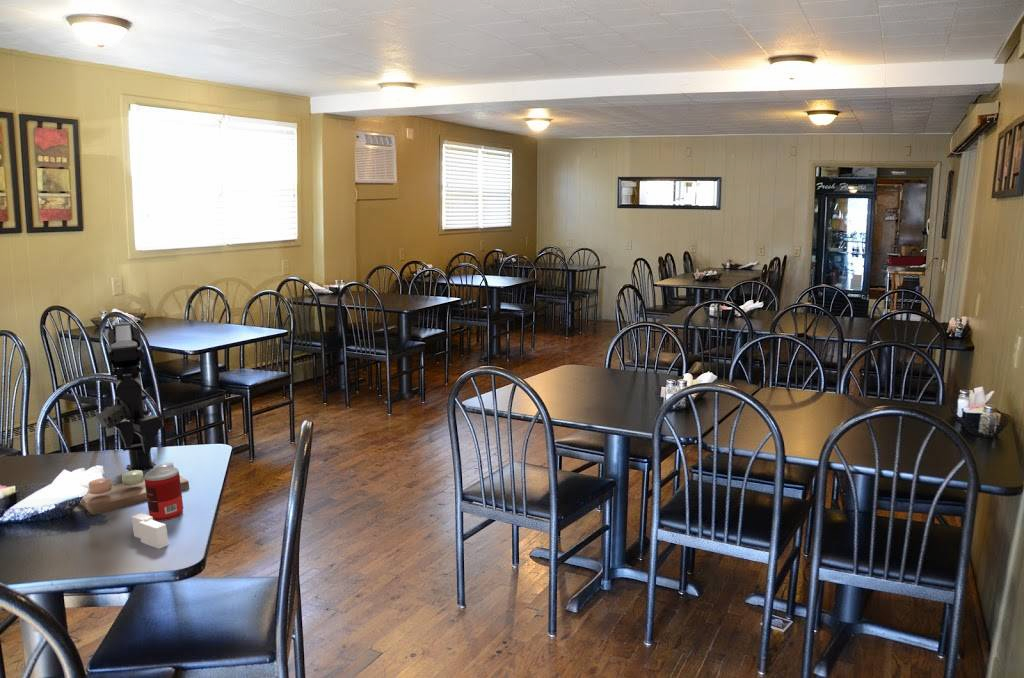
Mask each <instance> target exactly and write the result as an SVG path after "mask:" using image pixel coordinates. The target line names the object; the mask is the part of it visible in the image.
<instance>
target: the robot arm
mask: <svg viewBox="0 0 1024 678" xmlns="http://www.w3.org/2000/svg"><path fill="white" fill-rule="evenodd" d="M107 340H108V346H109V347H108V348H109V350H108V352H107V355H108V363H109V364H108V365H109V373H110V375H109V376H110V377H114V376H115V380H116V381H115V382H116V387H115V388H116V389H115V391H116V393H115V394H116V395H117V397H115V398H114V400H113V401H114V404H112V405H111V406H108V407H107V408H105V409H104V410H102V411H101V412H99V413H97V414H96V417H95V418H96V419H97V421H98V423H99V425H100V426H101V427H102V428H106V429H108V430H109V429H112V428H115V429H116V430H117V432H118V433H119V436H120V439H121V444H122V445H121V446H122V452H125V451H128V456H129V464H126V468H127V469H129V471H133V470H141V471H143V470H147V469H151V468H153V466H155V465H157V464H156V463H155V462H153V461H152V453H151V451H152V450H151V449H152V447H155V445H158V441H157V435H158V433H159V431H160V430H161V429H162V428H163V427H164V426H165V425H164V418H162V417H160V416H159V415H155V414H149V410H147V409H145V403H144V400H147V399H148V397H147V395H146V394H143V385H142V379H141V373H145V371H144V370H145V369H146V367H147V366H146V359H145V358H146V357H145V351H143V350H142V349H143V342H142V334H141V329H139V328H137V327H136V326H134V325H133V323H132V322H119V323H115V324H113V325H112V329H110V330H109V331H108V332H107ZM113 369H114V370H113Z"/></svg>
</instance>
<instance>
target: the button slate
mask: <svg viewBox="0 0 1024 678" xmlns="http://www.w3.org/2000/svg"><path fill="white" fill-rule="evenodd" d="M163 467H174V463H173V462H161V463H157V464H156V465H155V466H153V467H152V468H153V469H152V470H154V469H158V468H163Z"/></svg>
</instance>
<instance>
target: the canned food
mask: <svg viewBox="0 0 1024 678" xmlns="http://www.w3.org/2000/svg"><path fill="white" fill-rule="evenodd" d="M179 475H180V471H179V468H178V467H163V468H158V469H154V470H153V469H151V470H150V471H147V472H146V473H145V474H143V478H144V479H145V487H146V495H147V500H146V501H147V508H148V515H149V516H152V517H153V520H154V521H157V522H160V521H168V520H172V519H175V518H177V517H180V515H181V514H182V513H183V511H184V504H183V503H184V502H183V494H182V490H181V484H180V476H181V475H180V476H179Z"/></svg>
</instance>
